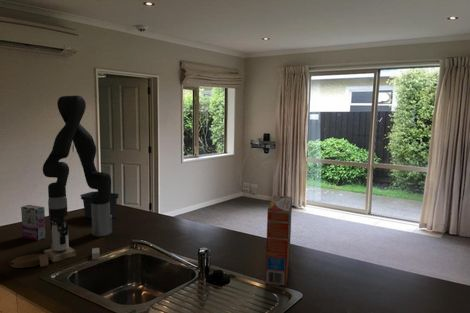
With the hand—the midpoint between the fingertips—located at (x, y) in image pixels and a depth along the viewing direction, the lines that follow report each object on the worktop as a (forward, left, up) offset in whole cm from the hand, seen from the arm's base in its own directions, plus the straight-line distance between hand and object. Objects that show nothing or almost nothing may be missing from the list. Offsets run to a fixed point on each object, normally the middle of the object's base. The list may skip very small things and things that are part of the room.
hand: (59, 241), depth 163 cm
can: (0, 0, -4) cm, 4 cm away
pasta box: (-57, +80, -7) cm, 98 cm away
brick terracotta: (+8, +3, -7) cm, 11 cm away
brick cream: (-10, +11, -5) cm, 16 cm away
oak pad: (0, 0, -7) cm, 7 cm away
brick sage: (-3, -9, -7) cm, 12 cm away
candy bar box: (0, -32, -7) cm, 33 cm away
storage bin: (-41, -42, -7) cm, 59 cm away
